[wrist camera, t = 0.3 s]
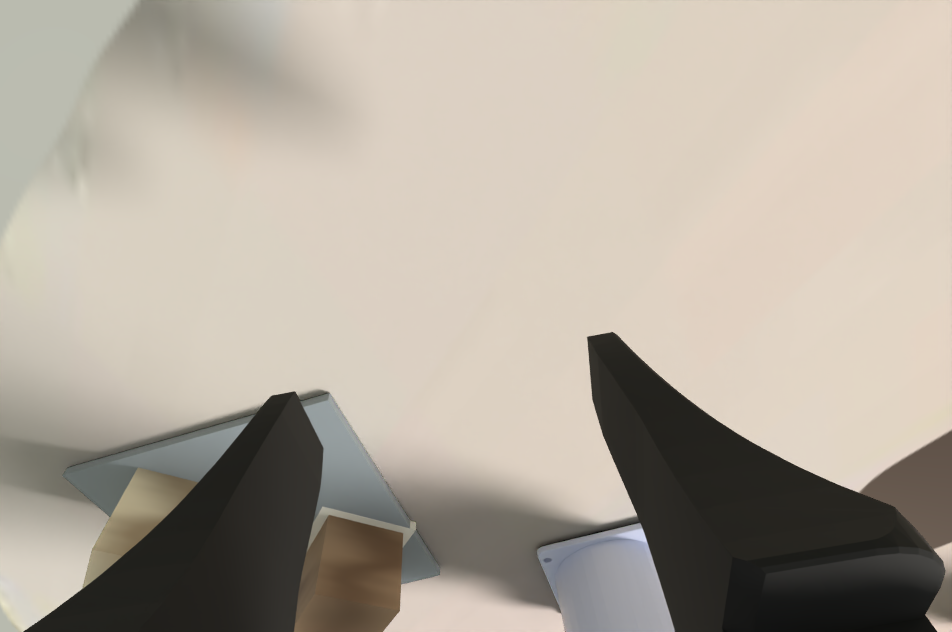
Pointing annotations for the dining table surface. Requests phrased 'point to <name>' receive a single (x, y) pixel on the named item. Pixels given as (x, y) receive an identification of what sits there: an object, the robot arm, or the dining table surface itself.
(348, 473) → the light blue flat plate
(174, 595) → the robot arm
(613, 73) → the dining table surface
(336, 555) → the walnut block
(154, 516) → the birch block
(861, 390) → the dining table surface
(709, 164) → the dining table surface
